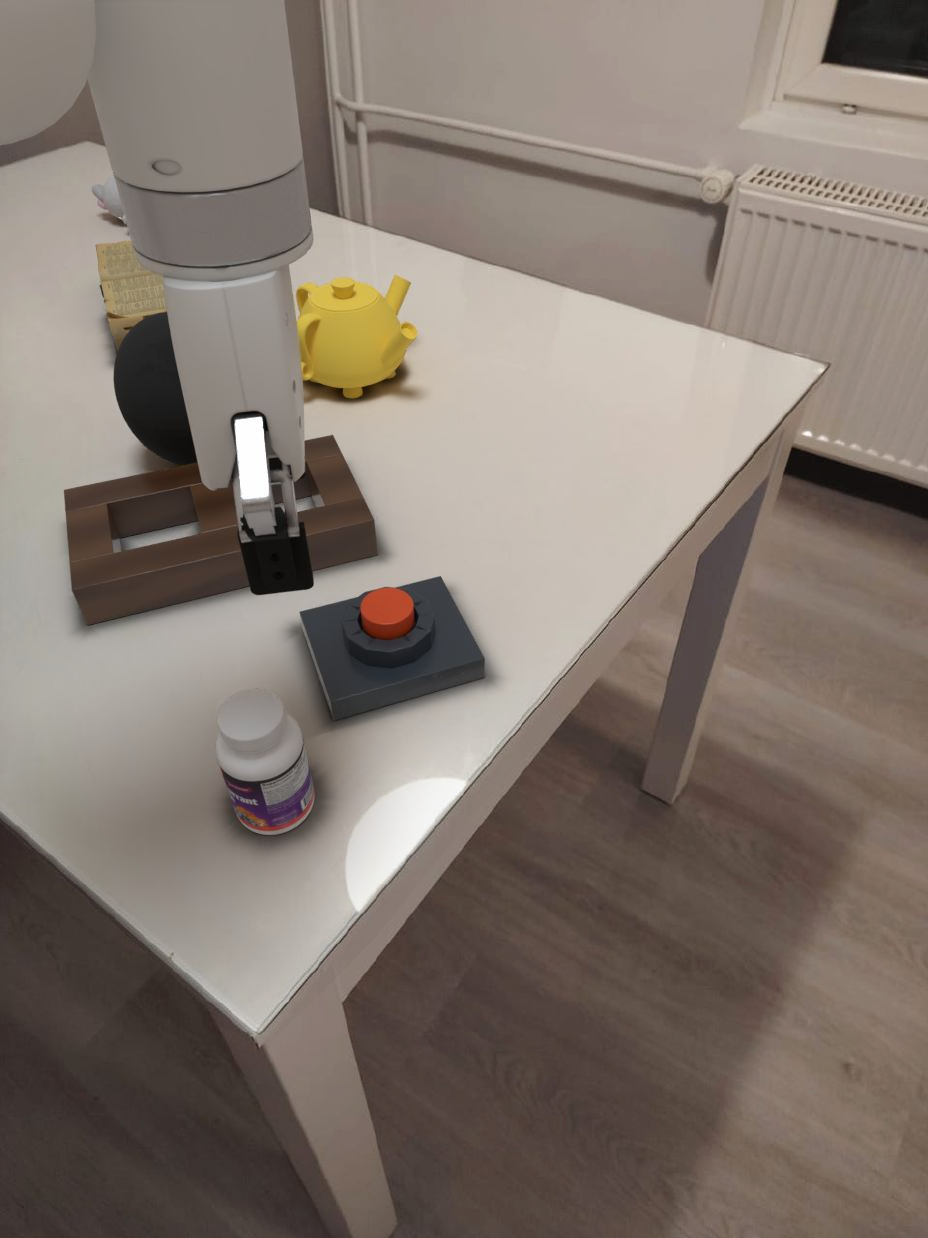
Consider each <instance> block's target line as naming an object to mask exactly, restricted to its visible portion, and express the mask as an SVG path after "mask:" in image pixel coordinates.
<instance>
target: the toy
mask: <svg viewBox="0 0 928 1238" xmlns="http://www.w3.org/2000/svg"><path fill="white" fill-rule="evenodd" d="M91 193H92V195H93V196H94V197H95V198H96V199H98V200H97V201H96V202H97V206H98V207H99V208H101V209H102V210H104V211H105V210H106V211H108V212H109V213H110V214H111V216H112V217H114V216H115V217H114V218H116V217H121V218H123V219H119V220H120V221H122V223H123V224H124V225H127V223H126V219H125V215H124V212H123V208H122V204H121V200H120V197H119V193H118V189H117V186H116V182H115V178H114V174H112V175H111V176H109V177H108V178H107V179H106V180H105V182H104V184H103V185H102V184H99V183H95V184H93V185H92V186H91Z"/></svg>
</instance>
